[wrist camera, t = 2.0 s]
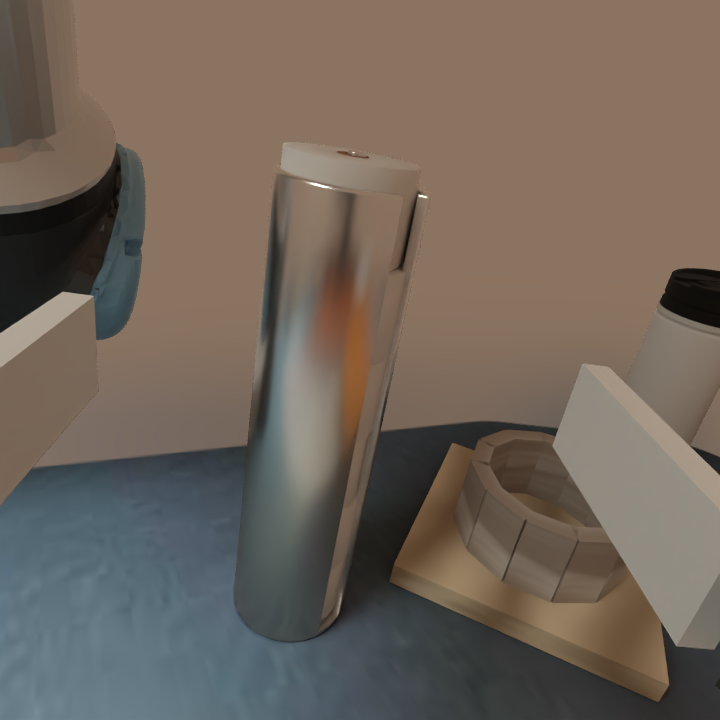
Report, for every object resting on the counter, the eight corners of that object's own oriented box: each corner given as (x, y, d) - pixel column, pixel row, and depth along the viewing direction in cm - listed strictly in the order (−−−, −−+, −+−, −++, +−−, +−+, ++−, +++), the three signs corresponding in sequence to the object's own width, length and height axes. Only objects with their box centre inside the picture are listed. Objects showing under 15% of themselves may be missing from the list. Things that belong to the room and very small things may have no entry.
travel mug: (677, 514, 46) (797, 292, 38) (608, 510, 45) (715, 280, 36) (635, 468, 52) (731, 266, 43) (572, 464, 50) (658, 255, 42)
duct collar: (389, 581, 34) (410, 502, 32) (448, 456, 48) (466, 393, 45) (658, 702, 30) (709, 621, 27) (638, 526, 44) (671, 460, 41)
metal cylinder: (243, 655, 28) (299, 152, 18) (225, 560, 34) (260, 130, 23) (358, 629, 31) (467, 175, 20) (324, 545, 36) (397, 151, 26)
